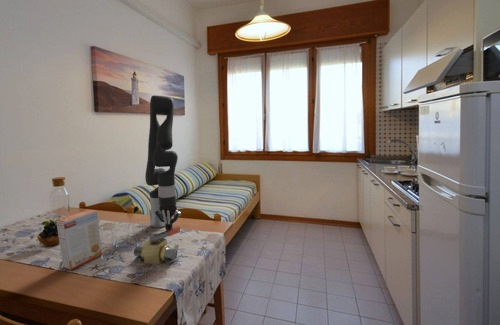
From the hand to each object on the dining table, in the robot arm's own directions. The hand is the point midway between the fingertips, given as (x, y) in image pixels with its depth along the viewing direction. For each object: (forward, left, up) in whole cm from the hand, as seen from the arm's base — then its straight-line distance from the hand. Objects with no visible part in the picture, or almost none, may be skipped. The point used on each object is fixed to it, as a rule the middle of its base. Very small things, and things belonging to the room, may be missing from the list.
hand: (169, 230), depth 122 cm
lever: (+1, -5, -1) cm, 5 cm away
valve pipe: (-2, -10, -9) cm, 13 cm away
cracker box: (-33, -16, -9) cm, 37 cm away
